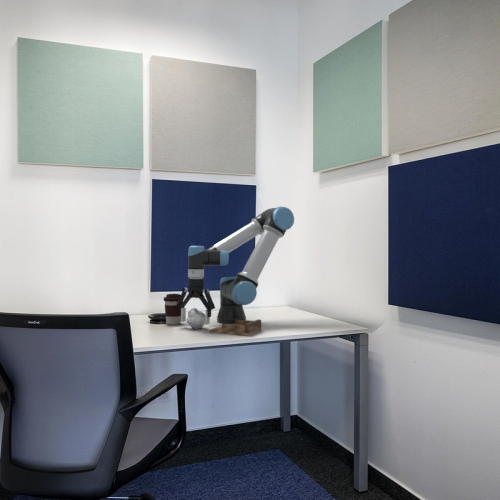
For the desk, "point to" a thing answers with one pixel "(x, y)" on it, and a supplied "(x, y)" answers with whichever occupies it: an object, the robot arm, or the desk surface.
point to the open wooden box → (239, 328)
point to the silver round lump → (196, 318)
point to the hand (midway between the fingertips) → (195, 322)
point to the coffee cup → (172, 309)
